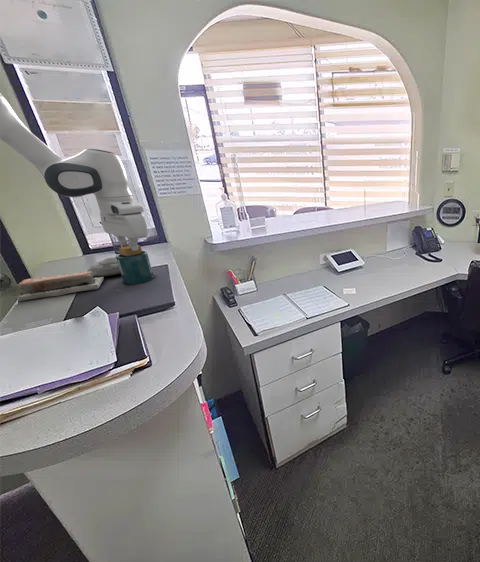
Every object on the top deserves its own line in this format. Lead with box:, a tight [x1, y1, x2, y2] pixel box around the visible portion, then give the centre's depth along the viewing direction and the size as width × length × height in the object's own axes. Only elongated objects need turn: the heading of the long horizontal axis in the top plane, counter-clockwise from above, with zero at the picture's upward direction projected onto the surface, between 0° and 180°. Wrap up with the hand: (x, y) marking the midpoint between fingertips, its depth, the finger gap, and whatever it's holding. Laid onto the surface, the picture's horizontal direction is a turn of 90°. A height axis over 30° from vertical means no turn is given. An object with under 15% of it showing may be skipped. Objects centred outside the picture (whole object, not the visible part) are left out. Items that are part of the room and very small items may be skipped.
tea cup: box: [115, 250, 155, 285], centre depth 103 cm, size 8×8×9 cm
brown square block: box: [118, 245, 143, 256], centre depth 101 cm, size 4×4×2 cm
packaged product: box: [16, 271, 105, 302], centre depth 95 cm, size 18×5×10 cm
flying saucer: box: [86, 256, 121, 277], centre depth 110 cm, size 15×15×6 cm
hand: (130, 249), depth 100 cm, fingers closed on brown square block, 4 cm apart
